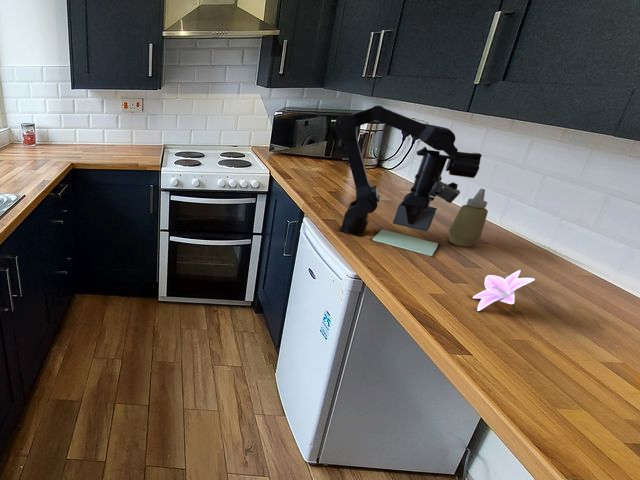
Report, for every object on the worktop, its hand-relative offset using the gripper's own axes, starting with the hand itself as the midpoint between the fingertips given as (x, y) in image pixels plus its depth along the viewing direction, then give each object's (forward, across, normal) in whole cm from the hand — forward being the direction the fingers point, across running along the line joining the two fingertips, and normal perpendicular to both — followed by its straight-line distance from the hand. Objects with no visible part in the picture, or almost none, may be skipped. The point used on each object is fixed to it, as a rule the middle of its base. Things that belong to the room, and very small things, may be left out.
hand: (412, 221), depth 124 cm
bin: (+1, 0, 0) cm, 1 cm away
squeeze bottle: (+7, +13, -13) cm, 20 cm away
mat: (+7, 0, 0) cm, 7 cm away
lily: (+7, -29, -23) cm, 38 cm away
